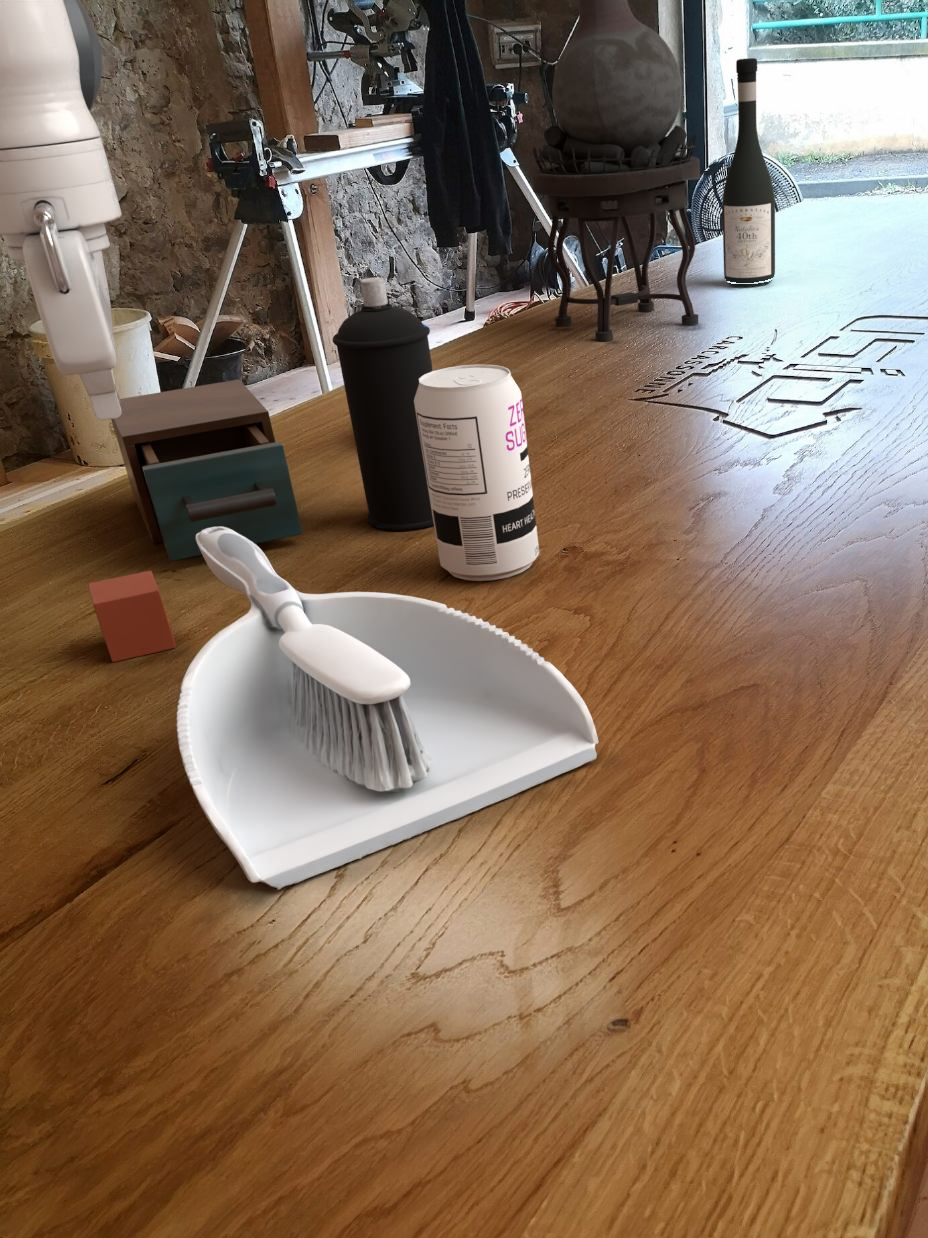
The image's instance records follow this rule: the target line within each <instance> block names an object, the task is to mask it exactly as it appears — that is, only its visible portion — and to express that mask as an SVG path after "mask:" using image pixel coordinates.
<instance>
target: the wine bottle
mask: <svg viewBox="0 0 928 1238" xmlns="http://www.w3.org/2000/svg"><path fill="white" fill-rule="evenodd" d="M735 72H736V76H737V109H738V111H737V112H738V128H737V129H738V131H737V140H736V144H735V149H734V151H733V152H734V153H733V156H732V160H731V163H730V165H729V168H728V172H727V176H726V178H725V183H724V187H723V193H722V204H721V205H722V207H721V209H722V210H721V211H722V246H723V247H722V249H723V279H724V280H725V279H726V281H730V282H736V283H754V282H759V281H765V280H768V279H771V278H773V277H775V276H774V275H776V200H775V199H776V198H775V191H774V186H773V185H774V184H773V180H772V177H771V175H770V172H769V168H768V165H767V163H766V160H765V158H764V155H763V152H762V149H761V145H760V139H759V135H758V127H757V125H758V124H757V72H758V59H757V58H756V57H755V58H754V57H749V58H739V59H736V61H735ZM773 279H774V278H773ZM726 281H725V282H726ZM772 281H773V280H771V281H769V282H764V283H758V284H731V283H727V285H730V286H732V287H739V288H740V287H744V288H746V287H747V288H749V287H759V286H764V285H768V284H770V283H771V282H772Z"/></svg>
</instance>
